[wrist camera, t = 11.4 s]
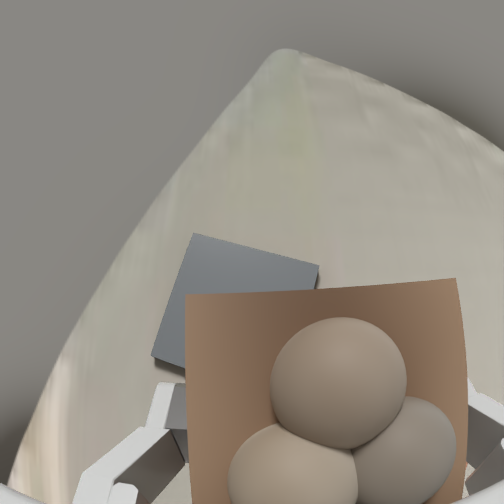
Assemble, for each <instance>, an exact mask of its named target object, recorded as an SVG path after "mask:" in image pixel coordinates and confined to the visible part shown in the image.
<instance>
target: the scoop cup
mask: <svg viewBox="0 0 504 504" xmlns="http://www.w3.org/2000/svg"><path fill="white" fill-rule="evenodd" d="M185 379H186V413H187V435H188V453H189V468H190V482H191V494H192V504H451V503H453V502H456V501H458V500H461V499H462V493H463V486H464V477H465V467H466V455H467V437H468V382H467V363H466V350H465V340H464V330H463V322H462V314H461V307H460V301H459V294H458V288H457V283H456V278H450V279H440V280H430V281H419V282H407V283H396V284H383V285H370V286H356V287H342V288H326V289H309V290H291V291H270V292H246V293H217V294H185Z"/></svg>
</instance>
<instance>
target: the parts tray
mask: <svg viewBox="0 0 504 504" xmlns="http://www.w3.org/2000/svg"><path fill="white" fill-rule="evenodd" d="M318 269H319V265H315V264H312V263H308V262H304V261H300V260H296V259H292V258H289V257H285V256H281V255H277V254H273V253H269V252H266V251H262V250H258V249H254V248H250V247H246V246H242V245H239V244H235V243H231V242H227V241H223V240H219V239H215V238H211V237H208V236H204V235H200V234H196V233H193V235H192V238H191V240H190V243H189V246H188V248H187V251H186V254H185V256H184V259H183V262H182V265H181V267H180V270H179V273H178V276H177V279H176V281H175V284H174V287H173V290H172V293H171V296H170V298H169V301H168V304H167V307H166V310H165V313H164V316H163V319H162V322H161V325H160V328H159V331H158V334H157V337H156V340H155V343H154V346H153V349H152V353H151V356H153V357H155V358H158V359H161V360H163V361H166V362H169V363H171V364H174V365H177V366H180V367H182V368H185V294H217V293H246V292H270V291H291V290H309V289H314V286H315V282H316V278H317V273H318Z"/></svg>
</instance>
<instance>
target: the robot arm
mask: <svg viewBox="0 0 504 504" xmlns="http://www.w3.org/2000/svg"><path fill="white" fill-rule="evenodd" d="M467 382H468V437H467V455H466V462H468V463H469V464H470V465H471V466H472V467H474V468H475V469H476V470H475V471H474V472H473V473H472V474H471V475H470V476H469V477H468V478H467V479H466V481H465V485H466V488H467V490H468V493H469V496H468V497H465V498H463V499H461V500H458V501H456V502H453V503H451V504H504V405H502V404H500V403H499V402H497V401H495V400H493V399H491V398H490V397H488V396H486V395H484V394H483V393H479V394H478V393H477V392H476V390H475V388H474V387H473V385H472V383H471V382H470V380H469V379H468V377H467ZM185 463H189V453H188V435H187V413H186V384H184V383H165V382H159V384H158V385H157V386H156V390H155V393H154V396H153V400H152V403H151V407H150V410H149V414H148V417H147V421H146V424H145V427H141V426H140V427H139V428H137V429H136V430H135V431H134V432H133V433H131V434H130V435H129V436H128V437H126V438H125V439H124V440H123V441H122V442H120V443H119V444H118V445H117V446H115V447H114V448H113V449H112V450H111V451H109V452H108V453H107V454H106V455H104V456H103V457H102V458H101V459H99V460H98V461H97V462H95V463H94V464H93V465H92V466H90V467H89V468H88V469H87V470H85V471H84V472H83V473H82V476H81V479H80V482H79V485H78V488H77V491H76V494H75V497H74V500H73V503H72V504H151V503H152V502H153V501H154V500H155V498H156V497H157V496H158V495H159V494H160V493H161V492H162V491H163V490H164V488H165V487H166V486H167V485H168V484H169V483H170V482H171V480H172V479H173V478H174V477H175V476H176V475H177V473H178V472H179V471H180V470H181V469H182V468H183V466H184V465H185ZM0 504H46V503H43V502H41V501H38V500H36V499H34V498H31V497H29V496H27V495H25V494H22V493H20V492H18V491H16V490H14V489H12V488H10V487H7V486H5V485H3V484H1V483H0Z"/></svg>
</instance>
